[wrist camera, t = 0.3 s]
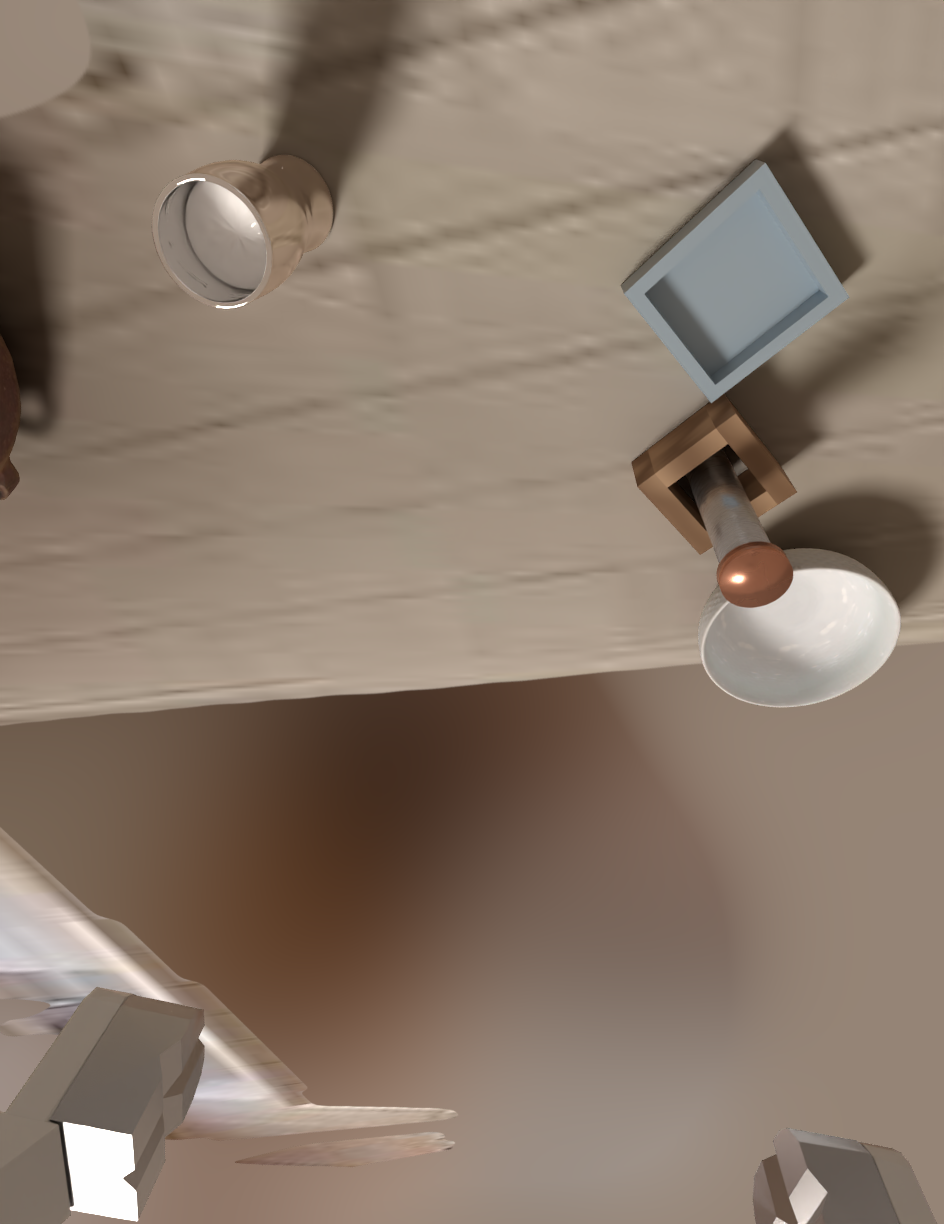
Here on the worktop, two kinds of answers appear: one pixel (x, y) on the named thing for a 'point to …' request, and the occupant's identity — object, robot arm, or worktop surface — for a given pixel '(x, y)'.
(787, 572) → the pin
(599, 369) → the worktop surface
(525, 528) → the worktop surface
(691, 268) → the tray
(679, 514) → the socket block
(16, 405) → the jug
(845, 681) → the cereal bowl
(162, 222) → the beer glass
